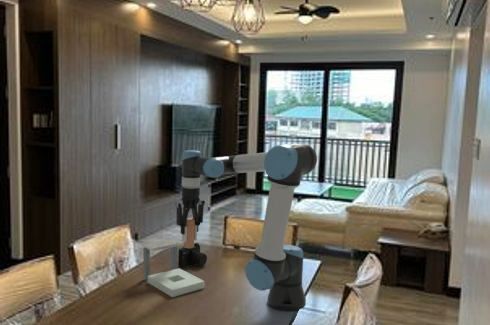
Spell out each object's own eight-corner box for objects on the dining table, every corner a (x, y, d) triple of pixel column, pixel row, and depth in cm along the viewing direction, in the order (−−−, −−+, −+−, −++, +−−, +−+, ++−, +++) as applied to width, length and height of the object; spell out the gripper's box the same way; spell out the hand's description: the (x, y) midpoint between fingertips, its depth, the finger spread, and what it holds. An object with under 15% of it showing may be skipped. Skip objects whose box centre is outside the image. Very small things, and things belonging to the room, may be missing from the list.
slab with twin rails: (183, 277, 202) (184, 242, 200) (152, 285, 192) (152, 248, 190) (174, 272, 208) (174, 238, 206) (143, 279, 198) (143, 244, 196)
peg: (195, 247, 192) (196, 220, 190) (187, 248, 189) (188, 221, 188) (190, 244, 195) (191, 217, 194) (181, 246, 193) (182, 218, 191)
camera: (191, 271, 210) (191, 251, 209) (175, 266, 216) (175, 246, 215) (211, 264, 221) (211, 244, 220) (195, 259, 227) (195, 240, 226)
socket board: (204, 288, 190) (204, 281, 190) (172, 297, 180) (172, 290, 179) (179, 274, 205) (179, 268, 205) (147, 282, 195) (147, 275, 194)
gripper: (203, 183, 197) (201, 235, 200) (168, 186, 186) (167, 241, 189) (212, 186, 191) (210, 239, 194) (177, 190, 180) (176, 245, 183)
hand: (189, 240), depth 192 cm, fingers closed on peg, 4 cm apart
